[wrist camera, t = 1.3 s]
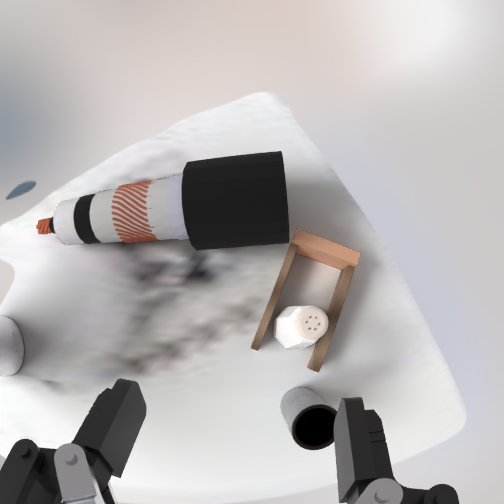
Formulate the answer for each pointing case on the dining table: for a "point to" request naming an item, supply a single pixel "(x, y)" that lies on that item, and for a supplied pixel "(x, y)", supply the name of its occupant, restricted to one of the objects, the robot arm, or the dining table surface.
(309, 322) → the pepper shaker
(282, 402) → the planter
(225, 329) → the dining table surface
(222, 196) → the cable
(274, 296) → the guide channel
